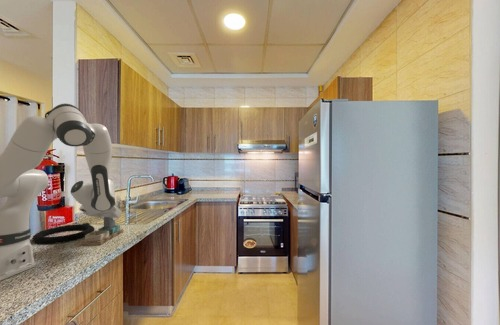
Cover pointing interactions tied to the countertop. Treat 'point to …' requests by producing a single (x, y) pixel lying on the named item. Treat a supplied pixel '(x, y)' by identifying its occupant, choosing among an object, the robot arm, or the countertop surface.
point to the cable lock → (59, 239)
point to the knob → (108, 223)
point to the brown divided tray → (101, 236)
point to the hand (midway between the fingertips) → (110, 219)
